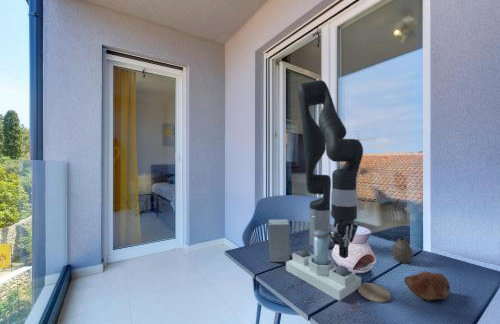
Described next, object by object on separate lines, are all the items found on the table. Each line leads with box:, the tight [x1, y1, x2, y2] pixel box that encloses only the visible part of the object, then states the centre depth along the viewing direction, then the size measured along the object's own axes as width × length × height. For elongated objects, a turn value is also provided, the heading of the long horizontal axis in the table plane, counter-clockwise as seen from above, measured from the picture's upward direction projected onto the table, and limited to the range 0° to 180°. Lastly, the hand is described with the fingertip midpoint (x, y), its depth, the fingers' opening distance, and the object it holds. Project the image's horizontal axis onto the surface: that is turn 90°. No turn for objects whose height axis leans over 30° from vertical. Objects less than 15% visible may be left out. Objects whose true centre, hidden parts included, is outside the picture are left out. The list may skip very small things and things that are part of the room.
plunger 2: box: [336, 265, 349, 277], centre depth 72 cm, size 4×4×3 cm
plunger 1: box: [297, 248, 309, 258], centre depth 85 cm, size 4×4×3 cm
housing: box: [285, 251, 362, 302], centre depth 79 cm, size 12×22×6 cm, turn 35°
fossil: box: [404, 271, 451, 301], centre depth 69 cm, size 13×8×10 cm
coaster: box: [357, 282, 392, 303], centre depth 70 cm, size 9×9×1 cm
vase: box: [391, 238, 414, 264], centre depth 91 cm, size 7×7×9 cm
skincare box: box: [268, 218, 291, 263], centre depth 93 cm, size 8×7×16 cm
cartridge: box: [313, 230, 329, 266], centre depth 78 cm, size 5×5×13 cm
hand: (343, 256), depth 72 cm, fingers closed
